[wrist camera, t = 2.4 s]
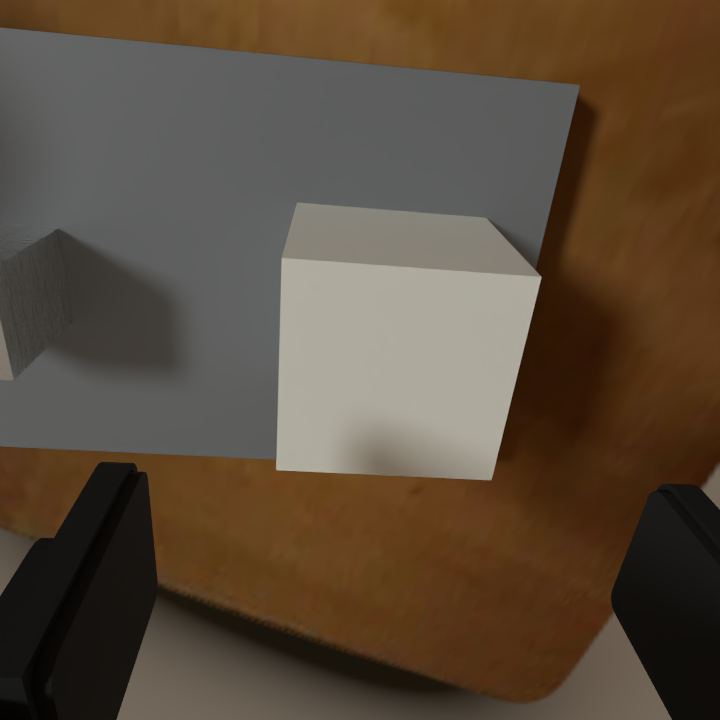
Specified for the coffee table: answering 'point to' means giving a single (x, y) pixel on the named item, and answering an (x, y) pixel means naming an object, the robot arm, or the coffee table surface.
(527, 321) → the cream foam cube
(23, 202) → the board
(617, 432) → the coffee table surface
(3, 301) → the small white block
